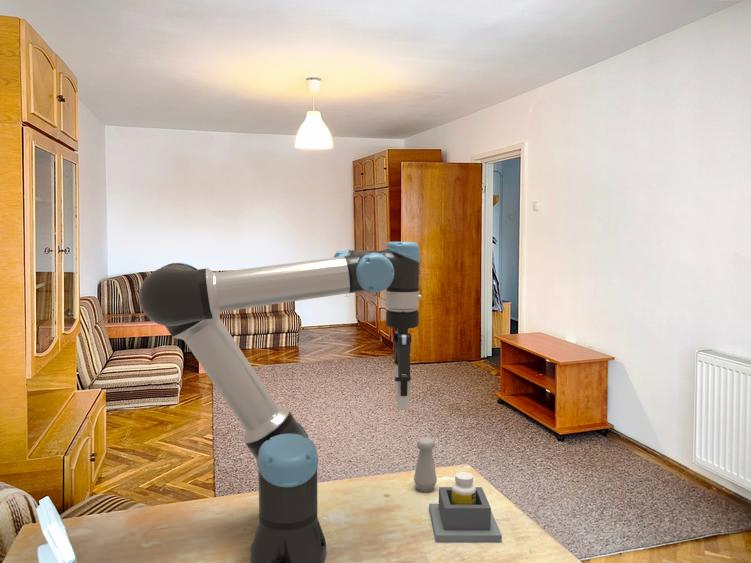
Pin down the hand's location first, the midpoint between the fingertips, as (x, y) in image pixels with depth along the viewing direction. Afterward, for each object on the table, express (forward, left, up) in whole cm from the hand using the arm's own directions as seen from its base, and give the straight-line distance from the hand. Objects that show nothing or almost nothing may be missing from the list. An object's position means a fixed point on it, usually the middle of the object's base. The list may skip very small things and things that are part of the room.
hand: (401, 400), depth 131 cm
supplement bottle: (+14, +6, -25) cm, 30 cm away
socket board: (+14, +6, -27) cm, 31 cm away
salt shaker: (-4, +13, -27) cm, 30 cm away
